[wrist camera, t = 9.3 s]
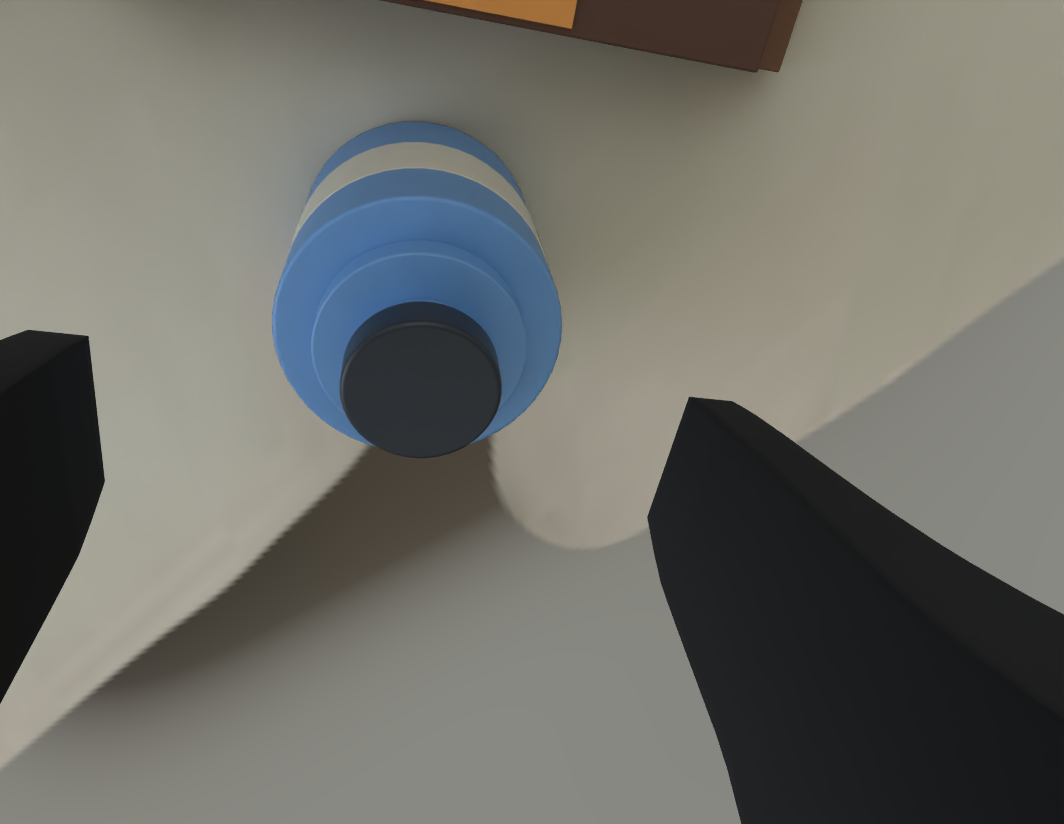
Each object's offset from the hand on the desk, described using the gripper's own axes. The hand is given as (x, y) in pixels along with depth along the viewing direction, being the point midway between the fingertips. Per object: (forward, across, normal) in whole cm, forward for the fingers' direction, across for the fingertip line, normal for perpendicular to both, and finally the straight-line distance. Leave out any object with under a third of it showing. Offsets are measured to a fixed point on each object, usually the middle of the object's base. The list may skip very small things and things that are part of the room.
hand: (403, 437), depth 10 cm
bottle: (+9, 0, +1) cm, 9 cm away
